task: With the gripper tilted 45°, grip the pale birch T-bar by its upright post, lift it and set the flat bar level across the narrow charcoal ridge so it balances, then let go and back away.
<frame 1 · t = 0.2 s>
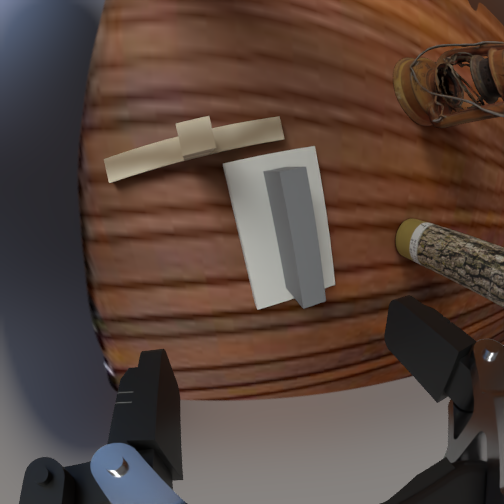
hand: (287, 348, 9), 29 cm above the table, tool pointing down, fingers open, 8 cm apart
bark print canister: (407, 236, 44), on the table
lantern: (419, 91, 37), on the table
birch T-bar: (193, 146, 34), on the table
ridge stand: (282, 227, 39), on the table
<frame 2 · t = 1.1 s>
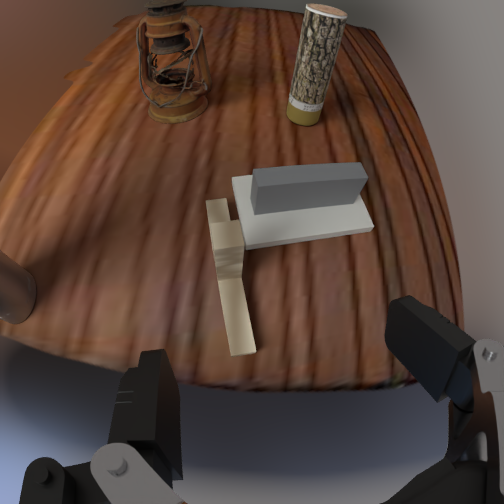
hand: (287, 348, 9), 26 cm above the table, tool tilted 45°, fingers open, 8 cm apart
bark print canister: (301, 118, 54), on the table
lantern: (177, 106, 54), on the table
birch T-bar: (227, 274, 39), on the table
ridge stand: (302, 206, 44), on the table
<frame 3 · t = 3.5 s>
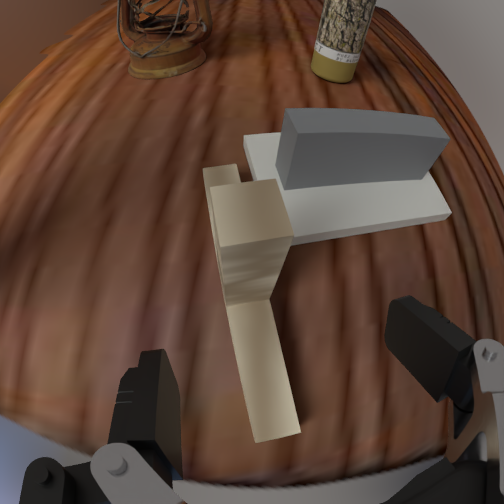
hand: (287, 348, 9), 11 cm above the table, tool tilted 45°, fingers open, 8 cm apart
bark print canister: (330, 75, 38), on the table
lantern: (166, 61, 37), on the table
birch T-bar: (242, 291, 22), on the table
ridge stand: (352, 180, 27), on the table
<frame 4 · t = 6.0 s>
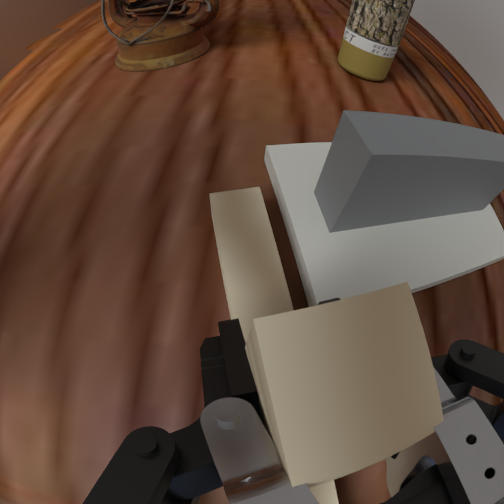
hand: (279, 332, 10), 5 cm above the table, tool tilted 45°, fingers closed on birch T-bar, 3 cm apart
bark print canister: (360, 71, 30), on the table
lantern: (162, 51, 30), on the table
birch T-bar: (273, 385, 14), on the table, touching gripper
ridge stand: (408, 211, 19), on the table
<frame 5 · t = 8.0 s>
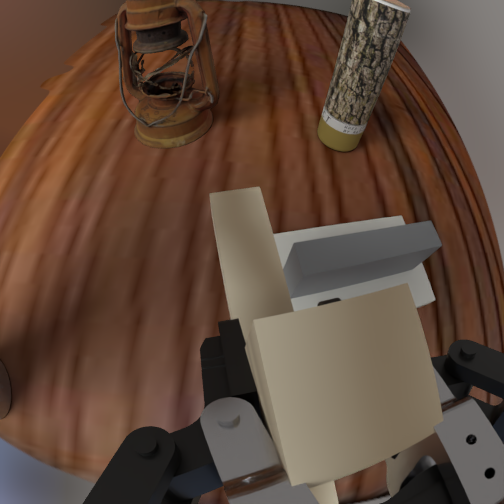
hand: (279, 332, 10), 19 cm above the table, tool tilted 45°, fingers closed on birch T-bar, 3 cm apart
bark print canister: (336, 140, 42), on the table
lantern: (173, 122, 42), on the table
birch T-bar: (273, 385, 14), point 14 cm above the table, touching gripper
ridge stand: (349, 276, 32), on the table
when the fingers open (14 cm above the table, at t = 10.3 s): birch T-bar drops 1 cm, resting on ridge stand.
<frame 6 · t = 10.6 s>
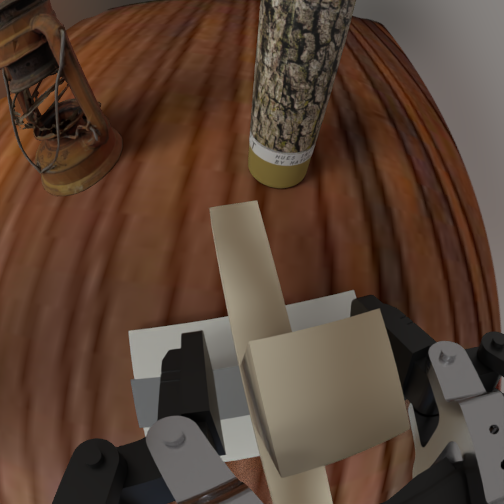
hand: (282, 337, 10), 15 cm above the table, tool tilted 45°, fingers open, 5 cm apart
bark print canister: (276, 169, 33), on the table
lantern: (80, 158, 32), on the table
birch T-bar: (270, 387, 15), point 8 cm above the table, touching ridge stand
ridge stand: (258, 384, 22), on the table
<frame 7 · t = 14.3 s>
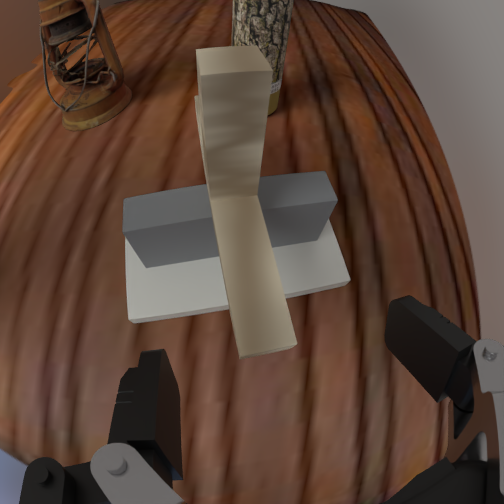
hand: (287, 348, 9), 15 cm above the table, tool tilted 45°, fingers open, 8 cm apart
bark print canister: (253, 107, 38), on the table
lantern: (96, 106, 38), on the table
birch T-bar: (230, 198, 21), point 8 cm above the table, touching ridge stand
ridge stand: (230, 246, 28), on the table
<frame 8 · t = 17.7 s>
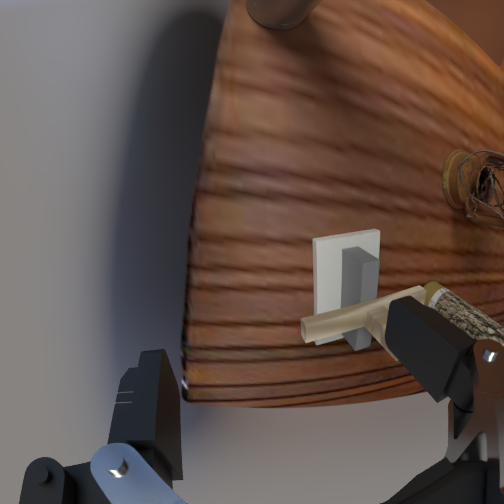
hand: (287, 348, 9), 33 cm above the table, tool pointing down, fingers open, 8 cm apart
bark print canister: (426, 293, 55), on the table
lantern: (459, 179, 47), on the table
birch T-bar: (366, 309, 41), point 8 cm above the table, touching ridge stand
ridge stand: (344, 287, 49), on the table
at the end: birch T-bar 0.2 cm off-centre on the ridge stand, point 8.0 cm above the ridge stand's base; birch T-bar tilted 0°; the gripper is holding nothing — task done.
